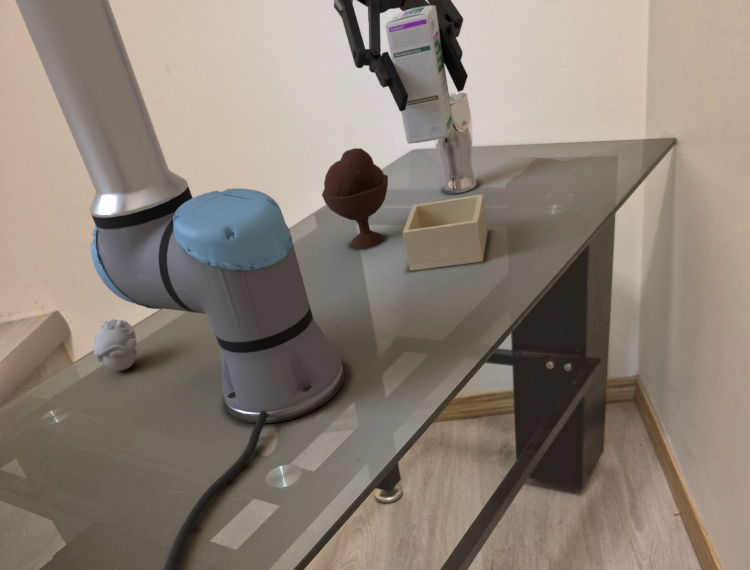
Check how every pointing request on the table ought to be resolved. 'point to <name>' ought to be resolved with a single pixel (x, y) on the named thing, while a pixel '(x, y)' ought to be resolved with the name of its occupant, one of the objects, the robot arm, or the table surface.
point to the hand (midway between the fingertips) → (433, 93)
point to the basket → (446, 233)
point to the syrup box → (421, 73)
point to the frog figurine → (115, 344)
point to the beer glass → (458, 148)
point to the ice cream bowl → (356, 193)
